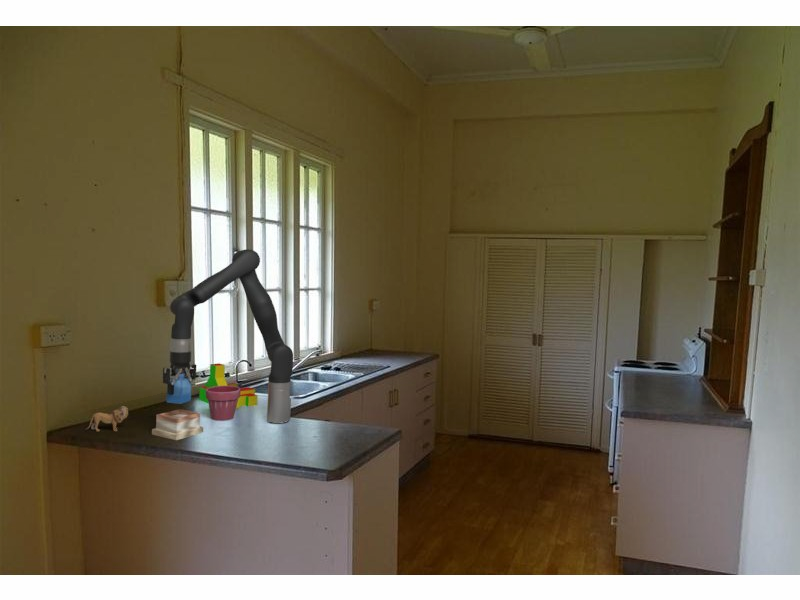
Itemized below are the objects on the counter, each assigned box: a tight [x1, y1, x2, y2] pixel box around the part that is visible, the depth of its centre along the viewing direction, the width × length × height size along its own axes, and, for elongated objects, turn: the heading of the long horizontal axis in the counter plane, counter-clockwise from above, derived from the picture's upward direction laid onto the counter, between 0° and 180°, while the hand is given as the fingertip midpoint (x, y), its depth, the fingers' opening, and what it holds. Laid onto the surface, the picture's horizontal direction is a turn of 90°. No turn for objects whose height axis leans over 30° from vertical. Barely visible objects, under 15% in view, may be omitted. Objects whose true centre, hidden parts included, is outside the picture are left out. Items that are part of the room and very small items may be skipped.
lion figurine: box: [84, 405, 129, 432], centre depth 209 cm, size 15×5×9 cm, turn 110°
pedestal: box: [151, 408, 204, 441], centre depth 209 cm, size 13×13×8 cm
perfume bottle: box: [166, 371, 192, 405], centre depth 209 cm, size 6×6×12 cm
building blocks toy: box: [198, 363, 258, 409], centre depth 263 cm, size 19×25×18 cm
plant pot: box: [206, 386, 241, 421], centre depth 234 cm, size 14×14×13 cm
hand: (179, 392), depth 209 cm, fingers closed on perfume bottle, 7 cm apart
